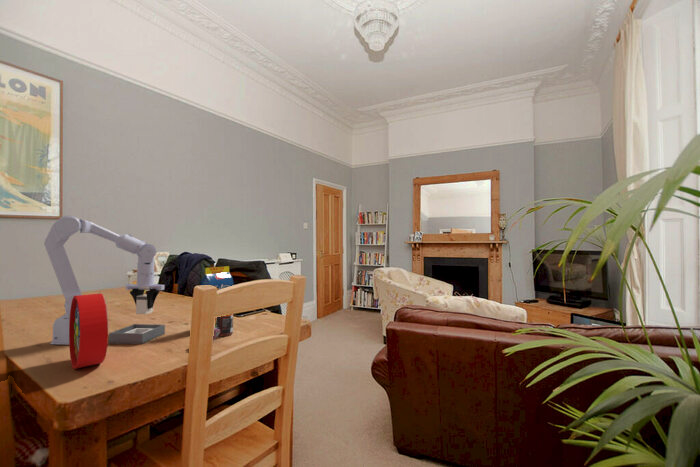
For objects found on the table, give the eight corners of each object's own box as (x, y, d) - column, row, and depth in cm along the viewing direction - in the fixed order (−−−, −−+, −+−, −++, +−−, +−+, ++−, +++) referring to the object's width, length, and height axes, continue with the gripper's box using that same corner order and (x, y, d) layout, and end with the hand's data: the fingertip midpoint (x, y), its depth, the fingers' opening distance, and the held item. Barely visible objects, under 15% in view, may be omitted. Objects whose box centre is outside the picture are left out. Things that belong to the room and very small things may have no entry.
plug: (135, 314, 121) (136, 296, 122) (143, 311, 126) (143, 294, 126) (145, 314, 121) (146, 296, 122) (153, 311, 125) (153, 294, 126)
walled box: (108, 343, 107) (109, 333, 108) (134, 333, 119) (134, 324, 120) (142, 344, 107) (142, 333, 107) (164, 333, 119) (164, 324, 119)
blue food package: (198, 329, 125) (200, 267, 126) (222, 322, 136) (224, 265, 137) (209, 331, 123) (210, 268, 123) (233, 324, 133) (234, 266, 134)
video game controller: (198, 354, 102) (207, 336, 102) (187, 347, 103) (196, 328, 102) (216, 344, 112) (224, 328, 111) (206, 338, 113) (214, 321, 112)
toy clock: (67, 358, 93) (70, 291, 94) (92, 353, 98) (95, 289, 98) (78, 378, 80) (81, 300, 81) (106, 371, 84) (109, 297, 85)
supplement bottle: (236, 333, 120) (236, 304, 120) (222, 337, 115) (223, 307, 115) (226, 331, 123) (227, 302, 123) (212, 335, 118) (213, 305, 118)
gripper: (169, 273, 128) (168, 306, 127) (135, 272, 128) (134, 305, 128) (158, 274, 121) (157, 309, 120) (122, 274, 121) (121, 309, 121)
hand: (144, 308), depth 123 cm, fingers closed on plug, 4 cm apart
